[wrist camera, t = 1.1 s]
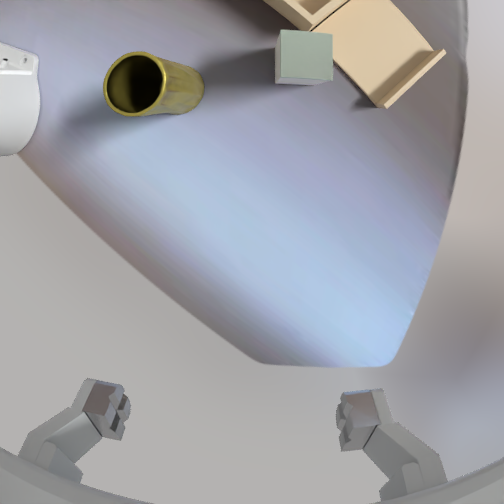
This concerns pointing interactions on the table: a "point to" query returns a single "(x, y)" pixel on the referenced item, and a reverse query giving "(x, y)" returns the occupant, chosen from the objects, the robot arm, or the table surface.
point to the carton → (303, 57)
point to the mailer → (367, 43)
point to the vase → (151, 86)
